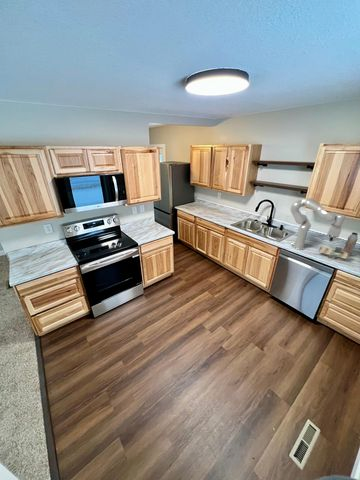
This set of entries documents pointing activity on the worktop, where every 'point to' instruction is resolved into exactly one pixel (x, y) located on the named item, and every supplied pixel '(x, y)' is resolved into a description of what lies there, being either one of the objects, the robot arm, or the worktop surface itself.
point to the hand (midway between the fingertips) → (330, 240)
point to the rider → (338, 249)
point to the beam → (333, 253)
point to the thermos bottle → (350, 244)
